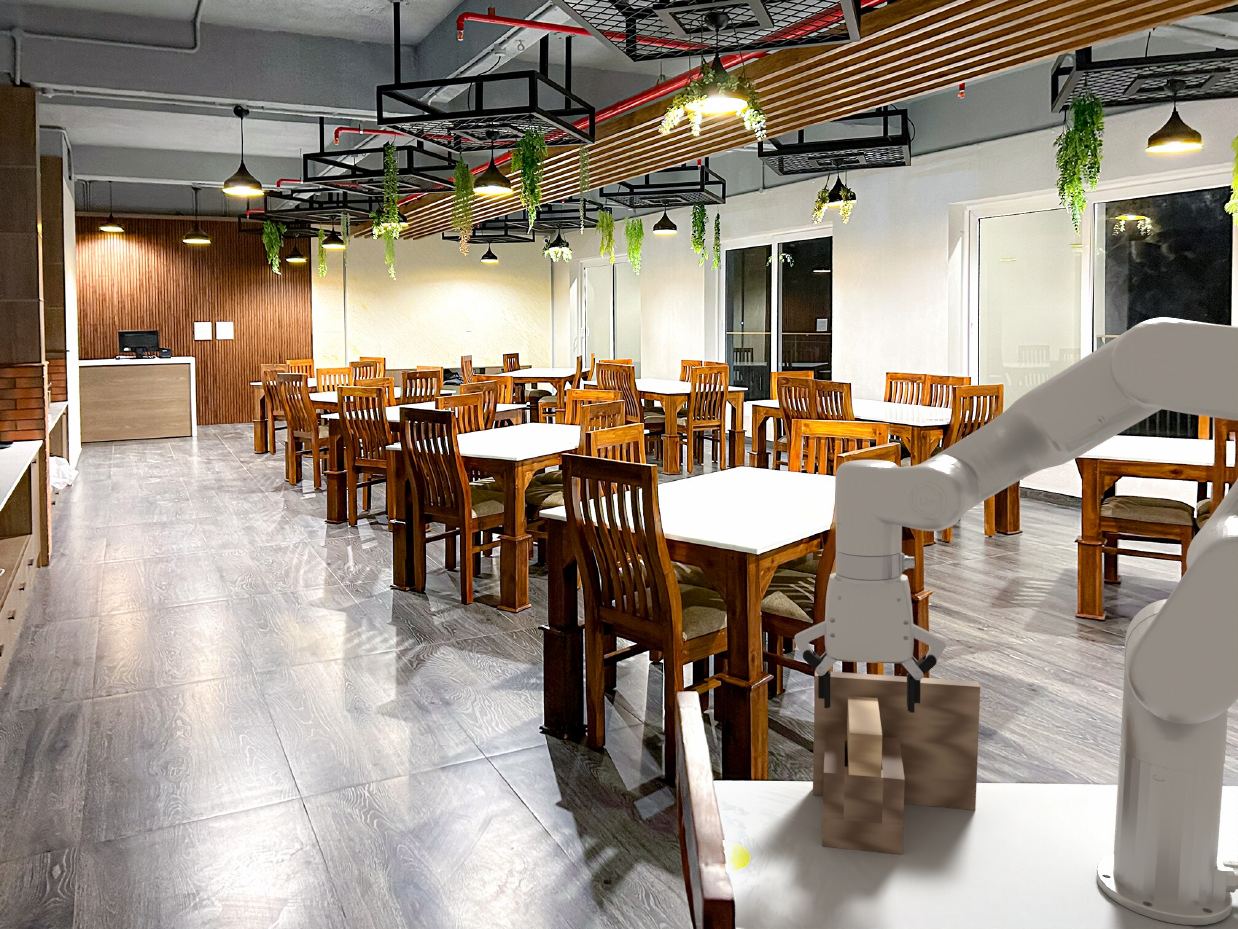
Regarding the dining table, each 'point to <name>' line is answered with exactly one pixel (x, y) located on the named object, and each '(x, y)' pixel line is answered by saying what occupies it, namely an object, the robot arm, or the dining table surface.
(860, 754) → the tan grey block
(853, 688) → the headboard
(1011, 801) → the dining table surface
